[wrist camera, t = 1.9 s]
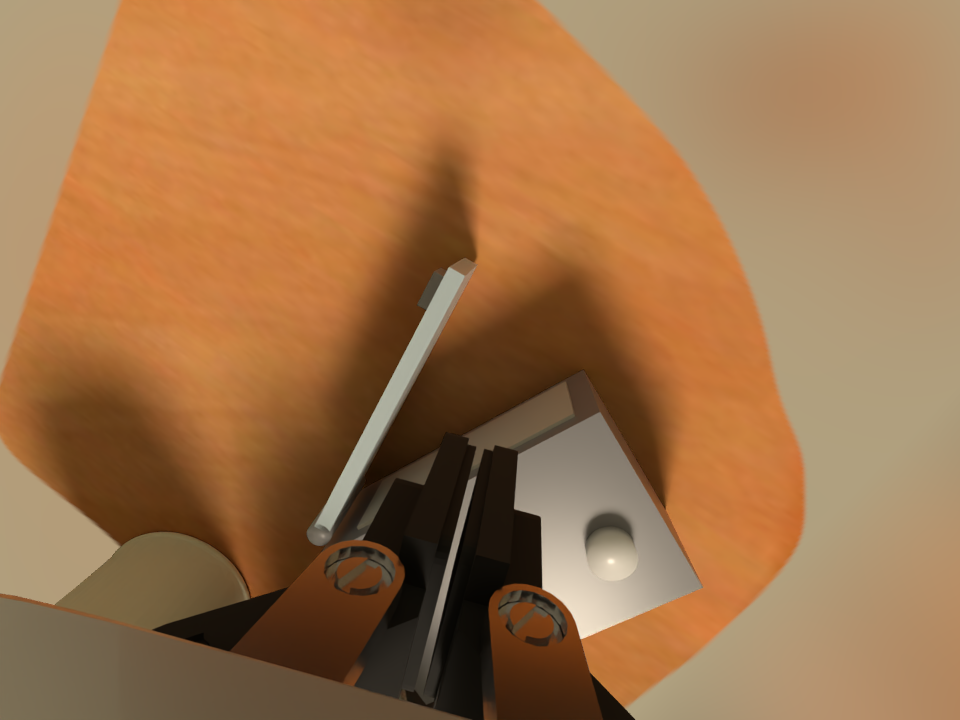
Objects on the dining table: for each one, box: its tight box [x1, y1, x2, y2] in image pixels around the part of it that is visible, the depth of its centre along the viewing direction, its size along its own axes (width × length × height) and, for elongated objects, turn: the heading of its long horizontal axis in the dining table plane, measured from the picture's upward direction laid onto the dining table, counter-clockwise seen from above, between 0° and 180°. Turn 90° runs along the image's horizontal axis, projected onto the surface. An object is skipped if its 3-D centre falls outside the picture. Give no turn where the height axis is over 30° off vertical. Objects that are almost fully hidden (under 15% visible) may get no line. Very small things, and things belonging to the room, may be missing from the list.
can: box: [55, 532, 250, 630], centre depth 26 cm, size 9×9×12 cm
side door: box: [307, 258, 477, 546], centre depth 24 cm, size 14×2×5 cm, turn 152°
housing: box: [321, 369, 703, 705], centre depth 25 cm, size 16×9×7 cm, turn 122°
